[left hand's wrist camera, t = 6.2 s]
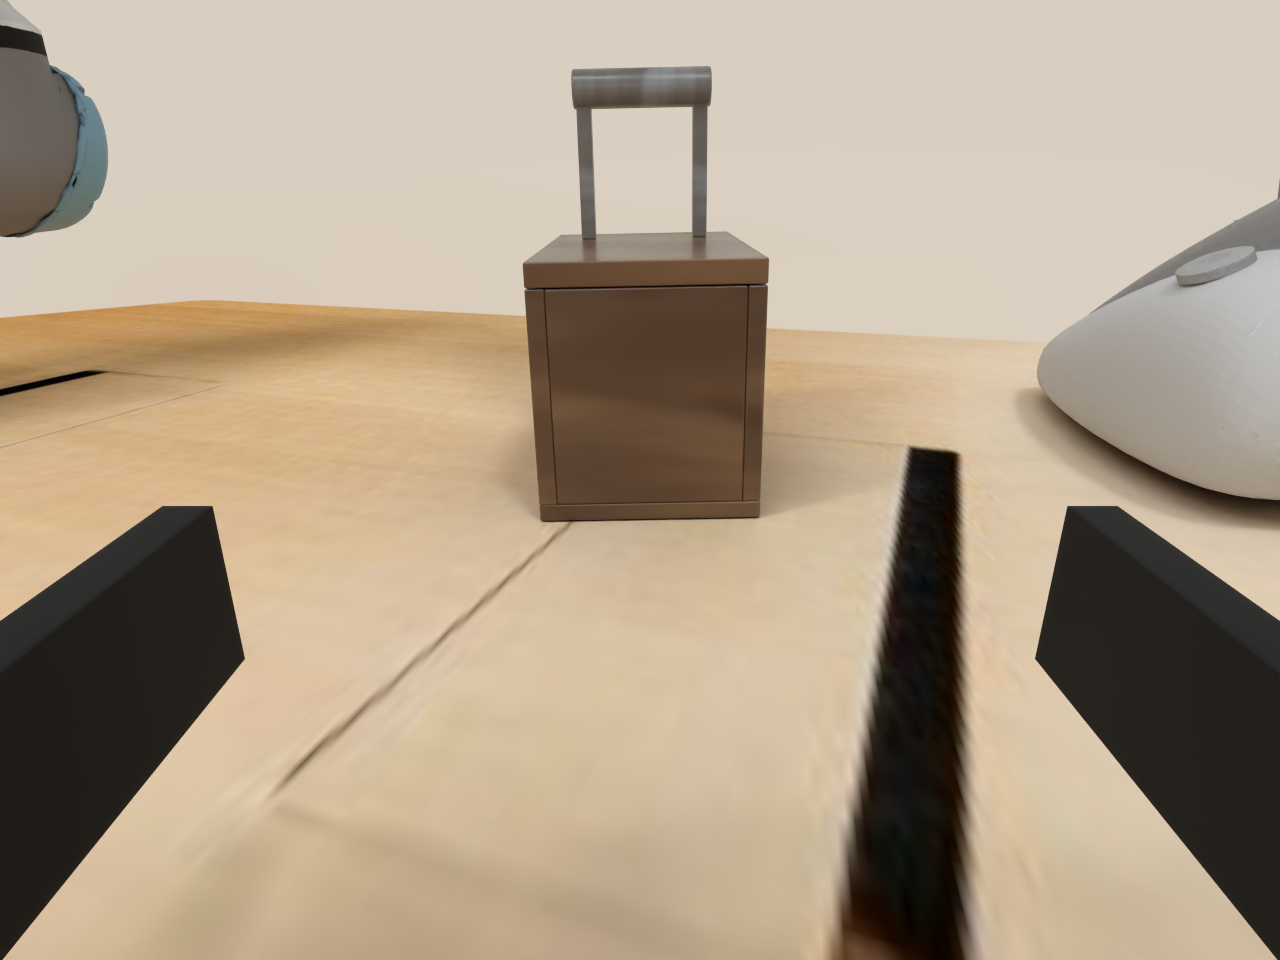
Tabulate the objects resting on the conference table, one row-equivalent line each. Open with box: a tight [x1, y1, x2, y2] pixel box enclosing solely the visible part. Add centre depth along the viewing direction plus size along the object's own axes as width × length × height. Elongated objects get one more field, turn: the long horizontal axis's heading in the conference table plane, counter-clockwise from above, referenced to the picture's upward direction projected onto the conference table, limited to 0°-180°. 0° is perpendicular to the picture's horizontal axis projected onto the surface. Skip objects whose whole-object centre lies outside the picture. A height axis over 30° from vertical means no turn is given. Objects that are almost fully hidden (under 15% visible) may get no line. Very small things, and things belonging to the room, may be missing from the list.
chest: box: [525, 284, 768, 521], centre depth 39 cm, size 14×9×10 cm, turn 0°
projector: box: [1037, 182, 1280, 500], centre depth 37 cm, size 22×23×15 cm
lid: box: [523, 66, 769, 288], centre depth 36 cm, size 15×9×9 cm, turn 0°
